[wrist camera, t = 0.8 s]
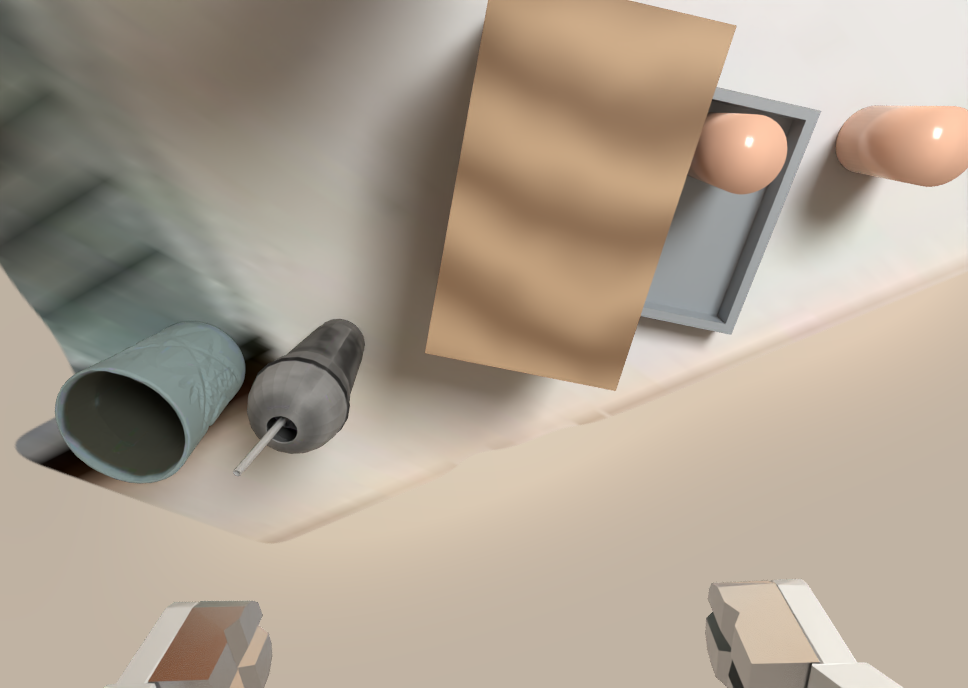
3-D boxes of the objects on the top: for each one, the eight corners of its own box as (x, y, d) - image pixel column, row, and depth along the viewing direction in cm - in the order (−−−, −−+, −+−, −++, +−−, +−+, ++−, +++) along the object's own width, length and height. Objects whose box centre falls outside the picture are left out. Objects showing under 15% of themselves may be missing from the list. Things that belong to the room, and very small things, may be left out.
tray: (615, 67, 44) (622, 65, 41) (803, 110, 44) (821, 110, 42) (556, 290, 51) (559, 299, 48) (720, 323, 51) (731, 334, 49)
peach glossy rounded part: (687, 105, 44) (725, 106, 37) (750, 120, 44) (799, 123, 37) (666, 172, 46) (698, 185, 39) (726, 185, 46) (769, 201, 39)
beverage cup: (389, 368, 54) (332, 506, 36) (317, 384, 55) (224, 527, 37) (365, 296, 51) (289, 405, 33) (289, 314, 52) (173, 430, 34)
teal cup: (269, 396, 56) (211, 469, 45) (176, 420, 57) (97, 496, 46) (222, 299, 52) (147, 353, 41) (124, 327, 53) (25, 387, 42)
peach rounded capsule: (852, 99, 44) (923, 98, 37) (914, 113, 44) (996, 115, 37) (824, 165, 46) (886, 178, 39) (883, 178, 46) (956, 193, 39)
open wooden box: (496, 9, 42) (493, -32, 30) (666, 48, 43) (736, 25, 30) (444, 289, 51) (424, 353, 38) (587, 318, 52) (615, 390, 39)
